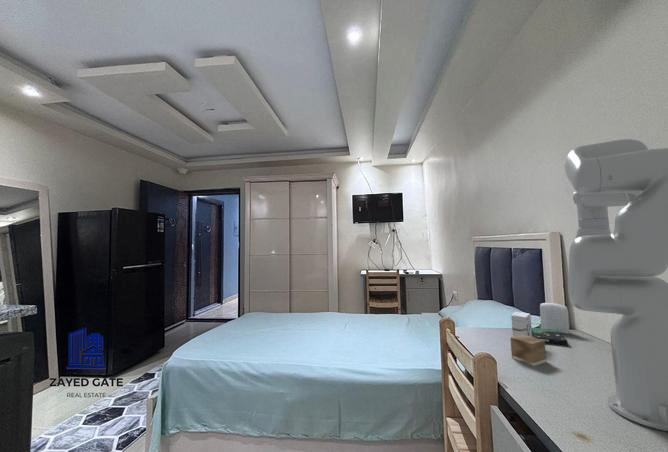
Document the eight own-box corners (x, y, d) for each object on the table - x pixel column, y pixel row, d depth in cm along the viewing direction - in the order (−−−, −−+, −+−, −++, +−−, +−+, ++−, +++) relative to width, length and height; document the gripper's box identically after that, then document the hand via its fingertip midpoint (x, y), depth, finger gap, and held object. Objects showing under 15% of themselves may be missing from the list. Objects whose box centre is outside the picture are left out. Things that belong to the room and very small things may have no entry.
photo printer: (571, 332, 119) (568, 304, 120) (568, 334, 117) (565, 305, 118) (543, 327, 128) (541, 300, 129) (539, 329, 125) (537, 302, 126)
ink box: (528, 349, 101) (525, 317, 102) (512, 345, 105) (510, 314, 106) (532, 343, 107) (530, 313, 108) (518, 340, 111) (516, 311, 112)
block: (532, 343, 88) (533, 366, 87) (544, 340, 91) (546, 362, 90) (510, 337, 94) (511, 358, 94) (522, 334, 97) (524, 354, 96)
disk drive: (569, 348, 103) (558, 336, 117) (568, 340, 104) (558, 329, 117) (535, 344, 108) (529, 333, 121) (535, 337, 108) (528, 326, 122)
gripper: (602, 225, 97) (606, 273, 96) (560, 225, 94) (565, 275, 93) (627, 223, 90) (633, 276, 88) (583, 223, 87) (588, 277, 86)
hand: (598, 275), depth 91 cm, fingers open, 9 cm apart
